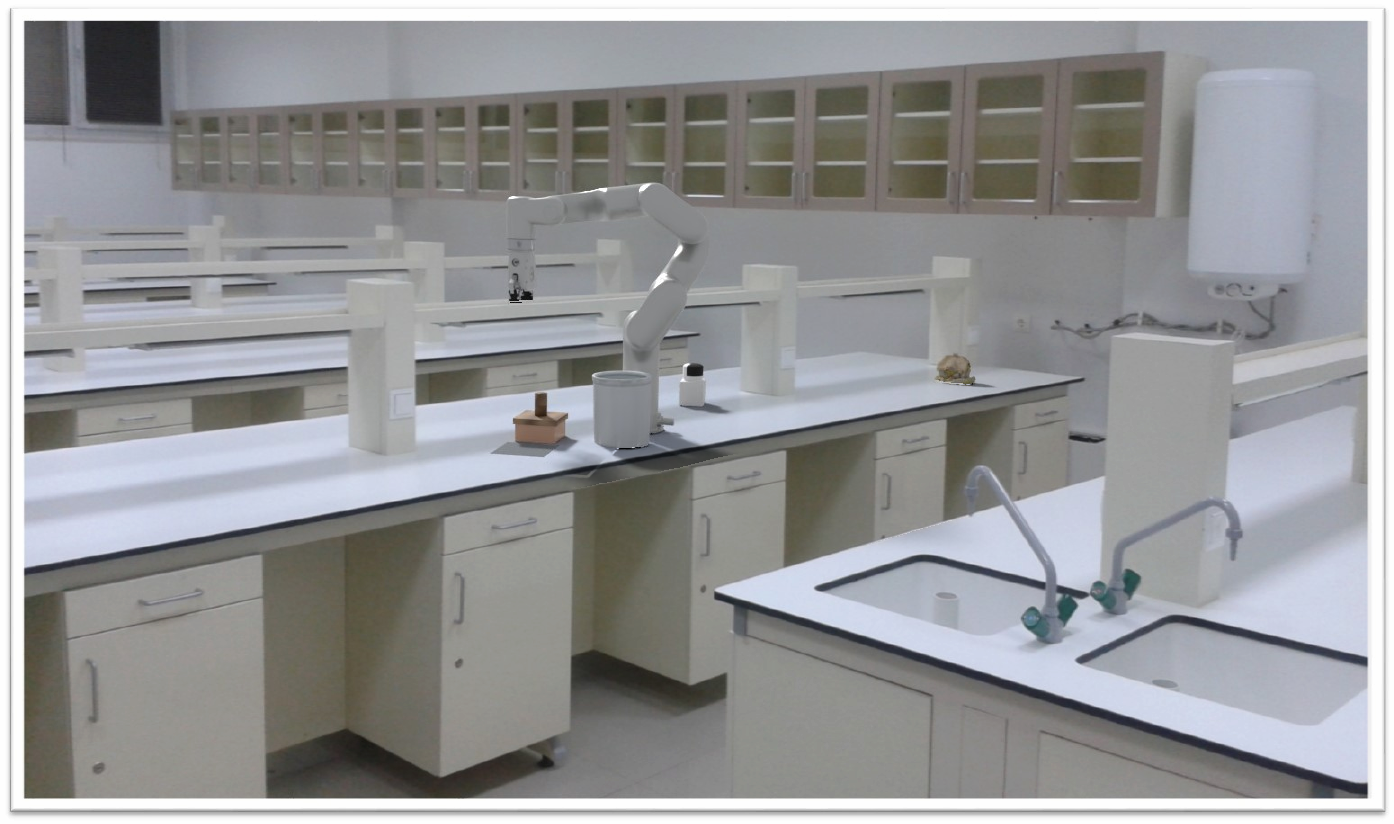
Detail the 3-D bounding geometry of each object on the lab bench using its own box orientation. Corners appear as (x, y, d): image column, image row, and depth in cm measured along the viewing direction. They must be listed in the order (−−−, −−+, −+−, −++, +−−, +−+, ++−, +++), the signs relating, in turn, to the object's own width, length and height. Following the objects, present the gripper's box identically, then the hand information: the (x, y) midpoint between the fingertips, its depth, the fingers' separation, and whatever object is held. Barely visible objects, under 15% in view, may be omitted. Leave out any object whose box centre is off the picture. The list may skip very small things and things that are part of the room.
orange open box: (565, 437, 320) (565, 418, 319) (554, 446, 310) (554, 426, 309) (527, 435, 321) (527, 416, 320) (515, 443, 311) (515, 423, 310)
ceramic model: (928, 382, 423) (930, 353, 421) (938, 378, 433) (940, 349, 431) (969, 387, 417) (971, 357, 415) (978, 382, 427) (980, 353, 425)
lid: (568, 418, 319) (568, 390, 318) (556, 426, 308) (556, 398, 307) (526, 415, 321) (526, 388, 319) (512, 423, 310) (512, 395, 309)
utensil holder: (578, 444, 313) (579, 374, 309) (615, 435, 325) (616, 367, 322) (626, 453, 305) (627, 381, 301) (662, 443, 317) (663, 374, 314)
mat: (558, 447, 308) (558, 445, 308) (543, 459, 296) (543, 456, 295) (507, 444, 310) (507, 441, 310) (490, 455, 298) (490, 453, 297)
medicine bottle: (705, 402, 374) (706, 362, 372) (703, 407, 367) (704, 366, 365) (681, 401, 375) (682, 361, 372) (678, 405, 368) (679, 365, 365)
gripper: (525, 248, 311) (525, 317, 314) (545, 244, 328) (544, 310, 331) (496, 247, 312) (496, 315, 315) (517, 243, 329) (517, 308, 332)
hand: (521, 312), depth 323 cm, fingers open, 9 cm apart
